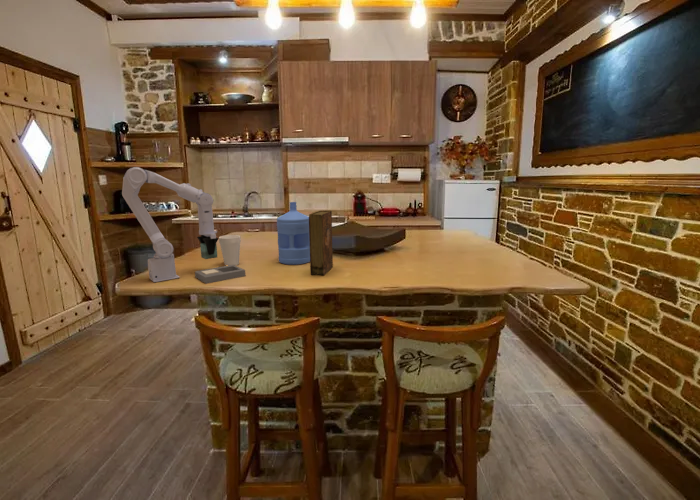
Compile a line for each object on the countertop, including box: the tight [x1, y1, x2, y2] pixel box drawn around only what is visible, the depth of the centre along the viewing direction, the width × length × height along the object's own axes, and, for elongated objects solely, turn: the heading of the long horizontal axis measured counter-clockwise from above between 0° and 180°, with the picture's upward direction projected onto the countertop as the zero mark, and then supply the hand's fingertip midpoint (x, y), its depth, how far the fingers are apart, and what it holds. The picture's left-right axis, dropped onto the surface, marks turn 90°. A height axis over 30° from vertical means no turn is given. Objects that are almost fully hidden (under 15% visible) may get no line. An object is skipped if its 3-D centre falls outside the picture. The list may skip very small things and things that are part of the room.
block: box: [199, 242, 218, 260], centre depth 152 cm, size 5×5×6 cm
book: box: [308, 210, 334, 276], centre depth 151 cm, size 16×6×25 cm, turn 168°
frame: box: [194, 265, 246, 284], centre depth 146 cm, size 16×12×3 cm
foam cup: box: [218, 234, 242, 266], centre depth 165 cm, size 10×9×13 cm
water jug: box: [276, 201, 310, 266], centre depth 168 cm, size 16×16×28 cm
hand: (208, 253), depth 152 cm, fingers closed on block, 5 cm apart
